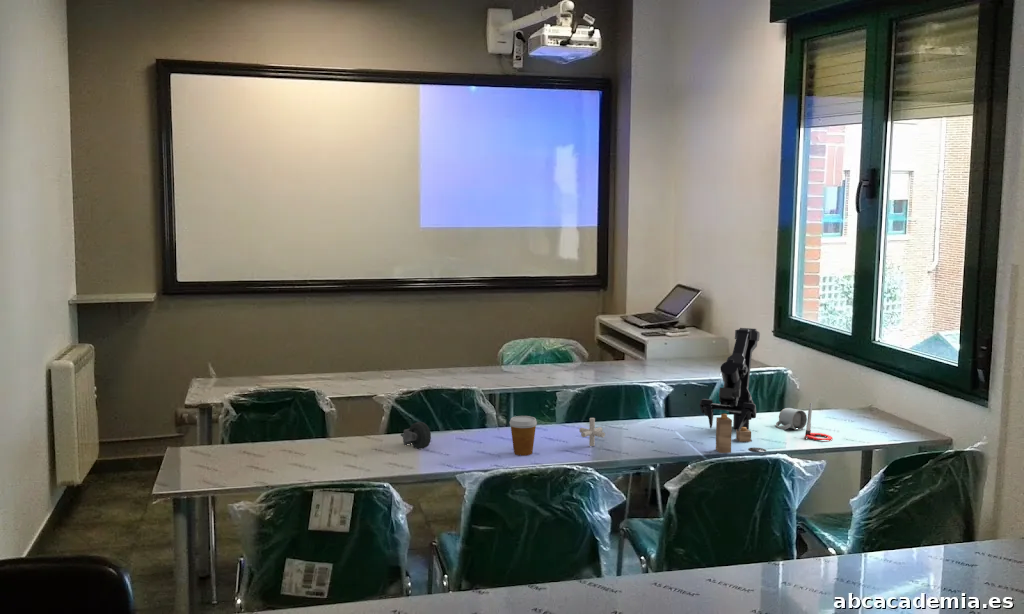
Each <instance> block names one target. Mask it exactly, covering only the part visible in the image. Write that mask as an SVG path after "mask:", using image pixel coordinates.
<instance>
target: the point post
mask: <svg viewBox="0 0 1024 614" xmlns="http://www.w3.org/2000/svg"><path fill="white" fill-rule="evenodd" d="M715 423H716V425H715V426H716V427H715V451H717V452H718V453H719V454H725V453H730V454H731V453H732V434H733V433H732V428H733V424H732V423H733V419H731V418H730V417H729V416H728V414H727V413H721V415H720V417H719V416H718V417H716V422H715Z"/></svg>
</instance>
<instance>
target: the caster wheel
mask: <svg viewBox="0 0 1024 614" xmlns="http://www.w3.org/2000/svg"><path fill="white" fill-rule="evenodd" d="M430 430H431V429H430V428H429V426H428V425H427V424H426V423H425V422H423V421H417V422H414V423H412V424H411V425H410V426H409V428H407V429H403V433H402V432H401V433H400V437H402V441H403V445H404V446H405V445H407V444H411V443H412V446H413V447H414V448H415V447H416V448H415V449H418V448H421V449H425V448H427V447H428V446H429V445H430V443H431V440H432V435H431V431H430ZM424 447H425V448H424Z"/></svg>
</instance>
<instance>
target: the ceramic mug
mask: <svg viewBox="0 0 1024 614" xmlns="http://www.w3.org/2000/svg"><path fill="white" fill-rule="evenodd" d="M807 421H808V415H807V414H806V412H805V411H804V410H803V409H796V408H792V407H786V408H783V409H782V410H780V412H779V415H778V421H777V422H776V423H775V427H776V428H778V429H781V430H783V431H785V430H788V429H791V430H792V429H793V430H794V431H801V430H803V429H804V428H805V427H806V426H807ZM780 425H782V426H780ZM796 428H798V429H796ZM800 429H801V430H800Z"/></svg>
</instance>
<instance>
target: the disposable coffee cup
mask: <svg viewBox="0 0 1024 614" xmlns="http://www.w3.org/2000/svg"><path fill="white" fill-rule="evenodd" d="M508 424H509V426H510V431H511V438H512V439H511V440H512V446H513V448H512V449H513V454H514V455H517V456H520V455H521V456H530V455H532V454H533V450H534V442H535V437H536V427H537V424H538V421H537V419H536V417H534V416H530V415H517V416H513V417H511V418H510V421H509V423H508Z"/></svg>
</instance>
